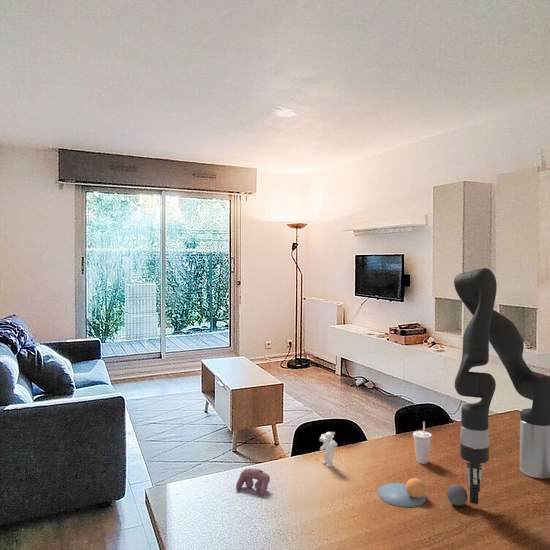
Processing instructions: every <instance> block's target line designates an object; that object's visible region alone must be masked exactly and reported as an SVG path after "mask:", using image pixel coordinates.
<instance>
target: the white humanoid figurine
mask: <svg viewBox="0 0 550 550" xmlns="http://www.w3.org/2000/svg"><path fill="white" fill-rule="evenodd" d="M335 435H336V432H335V431H327V432H326V433H322V434H321V435H320V437H319V442H322V446H320V448H319V451H321V452H322V451H324V454H323V458H324V459H323V461H322V464H323V465H325V466H326V467H327V468H332V467H333V466H334V464H333V463H334V462H333V460H334V458H335V457H334V456H335V455H334V454H335V450H336V449H337V448H338V443H337V442H336V441H335V440H334V439H333V438H334V437H335ZM332 459H333V460H332Z"/></svg>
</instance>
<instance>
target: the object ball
mask: <svg viewBox="0 0 550 550" xmlns="http://www.w3.org/2000/svg"><path fill="white" fill-rule="evenodd" d="M405 484H406V491H407V493H408V494H409V495H410V496H411V497H413V498H421V497H422V496H423V495H424V494H425V492H426V486H425V484H424V482H423V480H421V479H419V478H416V477H412V478H410V479H408V480H407V482H406V483H405Z"/></svg>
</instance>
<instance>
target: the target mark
mask: <svg viewBox="0 0 550 550" xmlns="http://www.w3.org/2000/svg"><path fill="white" fill-rule="evenodd" d="M406 484H407V483H401V482H392V483H390V482H389V483H386V484H383V485H381V486H380V487H379V488H378V489H377V495H378V497H379V498H380V499H381V500H382V501H384V502H385V503H387V504H389V505H392V506H395V507H399V508H416V506H417V507H420V506H422V505H424V504H425V502H426V501H427V495H426V494H425V493H424V495H423V496H422V497H421V498H413V497H411V496H410V495H409V494H408V493H407V491H406Z"/></svg>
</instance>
